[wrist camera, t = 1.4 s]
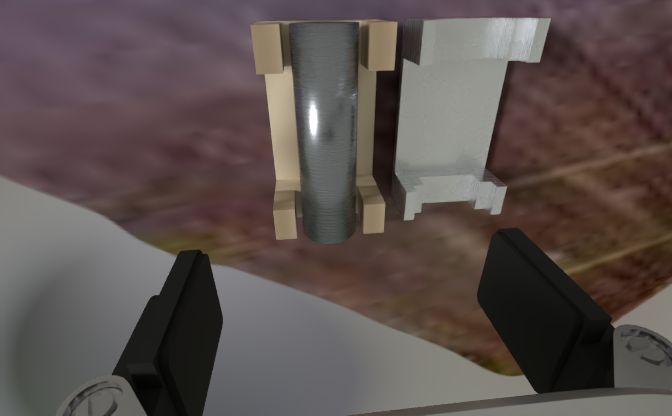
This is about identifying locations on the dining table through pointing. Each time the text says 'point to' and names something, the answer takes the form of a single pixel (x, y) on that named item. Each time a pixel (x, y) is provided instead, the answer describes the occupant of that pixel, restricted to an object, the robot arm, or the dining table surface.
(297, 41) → the steel axle
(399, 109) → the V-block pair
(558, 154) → the dining table surface
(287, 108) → the bearing cradle
